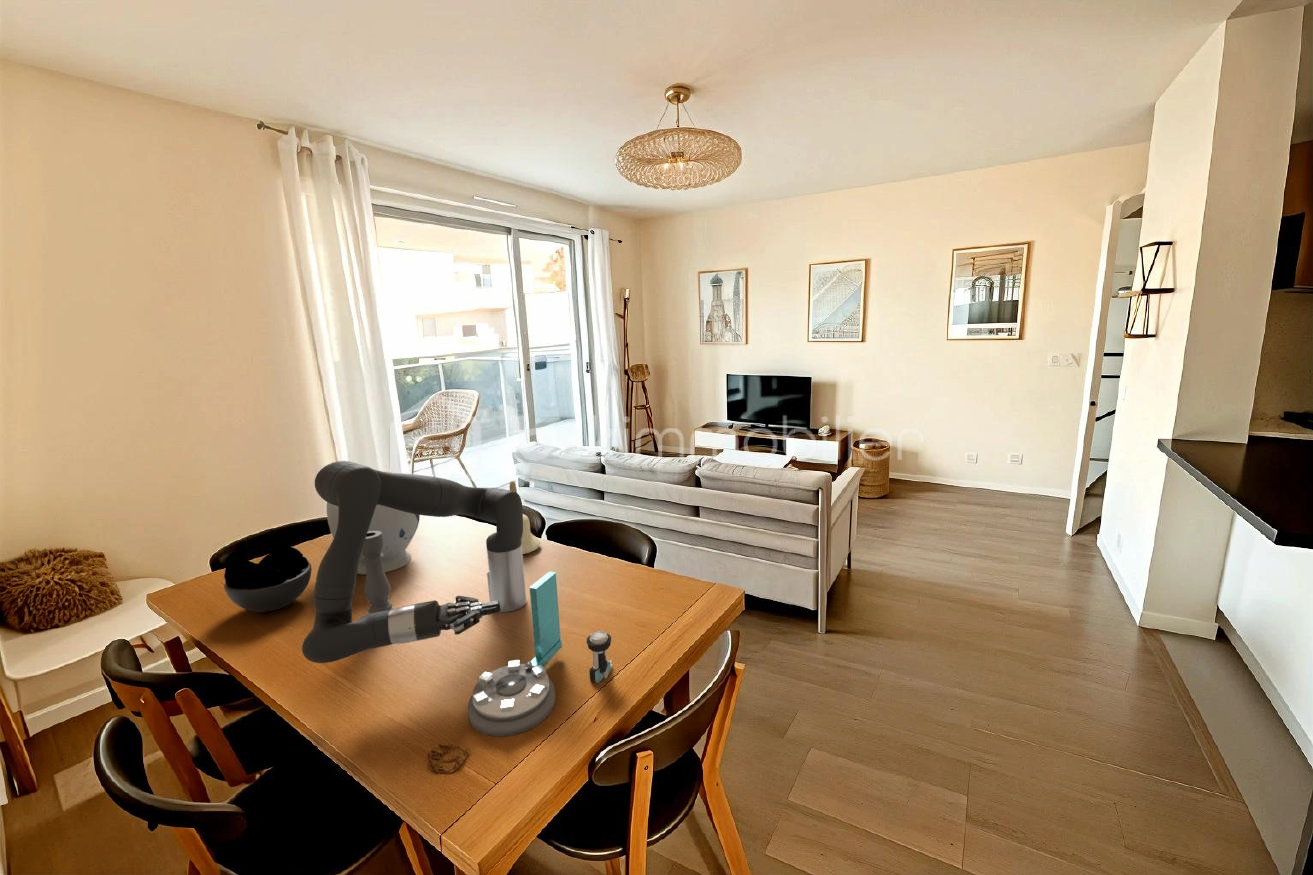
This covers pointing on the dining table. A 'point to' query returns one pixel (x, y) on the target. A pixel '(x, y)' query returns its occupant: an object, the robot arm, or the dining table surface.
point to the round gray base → (515, 725)
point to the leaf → (444, 749)
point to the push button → (599, 655)
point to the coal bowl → (267, 578)
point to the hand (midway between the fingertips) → (499, 606)
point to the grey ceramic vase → (385, 534)
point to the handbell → (526, 531)
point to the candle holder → (375, 573)
